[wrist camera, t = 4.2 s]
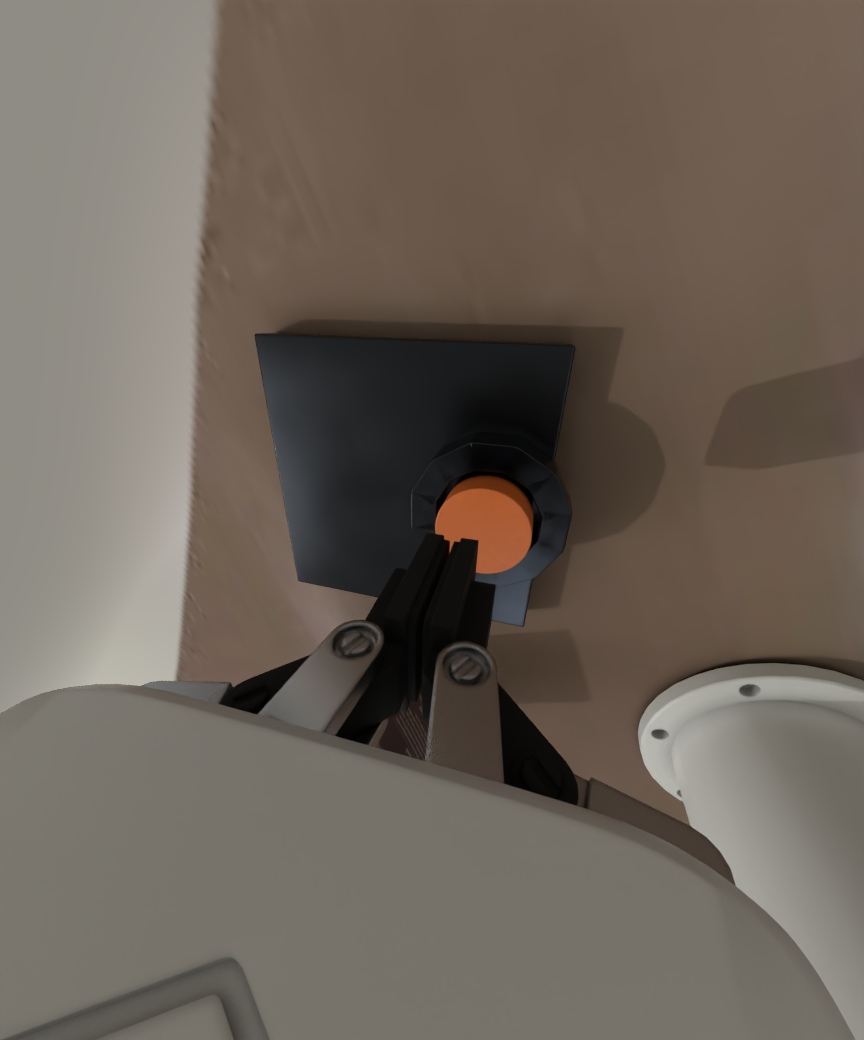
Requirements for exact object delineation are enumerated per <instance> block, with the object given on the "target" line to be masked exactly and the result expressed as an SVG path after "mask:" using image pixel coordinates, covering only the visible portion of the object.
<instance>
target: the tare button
mask: <svg viewBox="0 0 864 1040" xmlns="http://www.w3.org/2000/svg"><path fill="white" fill-rule="evenodd" d="M532 530H533V511H532V507H531V504H530V502H529V500H528V498H527V497H526V495H525V494H524V493H523V491H522V490H521V489H520V488H518V487H517V486H516V485H515V484H513V483H511V482H510V481H508V480H506V479H503V478H500V477H497V476H490V475H481V476H475V477H471V478H468V479H466V480H464V481H462V482H460V483H459V484H457V485H456V486H455V487H454V488H453V489H452V490H451V492H450V493H449V495H448V496H447V498H446V500H445V501H444V503H443V505H442V506H441V508H440V510H439V512H438V514H437V518H436V523H435V532H436V534H439V535H444V540H449V541H450V551H451V548H452V545H453V543H454V541H456V542H460V540H461V538H466V539H473V540H478V541H479V542H478V554H477V565H476V573H483V574H492V573H499V572H503V571H506V570H508V569H510V568H512V567H514V566H515V565H517V564H518V563H519V562H520V561H521V560H522V559H523V558H524V557H525V555H526V554H527V552H528V550H529V548H530V545H531V541H532ZM449 553H450V552H449Z"/></svg>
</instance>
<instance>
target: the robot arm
mask: <svg viewBox="0 0 864 1040" xmlns="http://www.w3.org/2000/svg"><path fill="white" fill-rule="evenodd" d="M478 542H479V541H478V540H473V539H466V538H461V540H460V542H456V541H454V543H453V545H452V548H451V551H450V541H449V540H444V535H439V534H433V533H427V534H426V535H425V537H424V539H423V541H422V543H421V545H420V546H419V548H418V550H417V552H416V554H415V556H414V558H413V560H412V562H411V563H410V565H409V567H408V569H402V568H396V569H395V570H394V571H393V573H392V575H391V577H390V578H389V580H388V582H387V583H386V585H385V587H384V589H383V590H382V592H381V594H380V595H379V597H378V599H377V601H376V602H375V604H374V606H373V608H372V609H371V611H370V613H369V614H368V616H367V618H366V620H353V621H349V622H345V623H343V624H341V625H339V626H338V627H336V628H335V629H334V630H333V631H332V632H331V633H330V634H329V635H328V636H327V637H326V638H325V640H324V641H323V642H322V643H321V644H320V645H319V646H318V647H317V649H316V650H315V651H314V652H313V653H312V654H311V655H309V656H306V657H304V658H301V659H299V660H296V661H293V662H291V663H288V664H286V665H283V666H281V667H278V668H276V669H273V670H270V671H268V672H265V673H263V674H260V675H258V676H255V677H253V678H250V679H248V680H246V681H244V682H242V683H240V684H238V685H237V686H235V687H232V685H231V682H191V681H157V682H150V683H147V684H145V685H142V686H133V685H121V684H110V685H109V684H95V685H87V686H78V687H69V688H63V689H58V690H54V691H50V692H46V693H43V694H40V695H37V696H34V697H32V698H29V699H27V700H25V701H22V702H20V703H19V704H17V705H15V706H13V707H11V708H9V709H8V710H6V711H4V712H2V713H1V714H0V1040H864V681H863V680H860V679H857V678H854V677H851V676H848V675H845V674H842V673H839V672H836V671H832V670H827V669H822V668H817V667H812V666H807V665H795V664H782V663H760V664H742V665H736V666H730V667H723V668H718V669H714V670H711V671H707V672H704V673H700V674H697V675H694V676H692V677H689V678H687V679H685V680H683V681H681V682H678V683H676V684H674V685H673V686H671V687H670V688H668V689H667V690H665V691H664V692H662V693H661V694H660V695H658V696H657V697H656V698H655V699H654V700H653V701H652V703H651V704H650V705H649V706H648V707H647V708H646V710H645V712H644V714H643V716H642V717H641V719H640V724H639V729H638V738H639V746H640V750H641V754H642V757H643V761H644V764H645V766H646V768H647V769H648V771H649V772H650V774H651V776H652V777H653V778H654V779H655V780H656V781H657V782H658V783H659V784H660V785H661V786H662V787H663V788H664V789H665V790H666V791H668V792H669V793H670V794H672V795H673V796H674V797H676V798H677V799H679V800H681V801H683V802H684V805H685V809H686V812H687V816H688V819H689V823H690V826H689V825H687V824H685V823H683V822H681V821H679V820H677V819H675V818H673V817H671V816H669V815H667V814H665V813H663V812H661V811H658V810H656V809H654V808H652V807H650V806H648V805H646V804H644V803H642V802H640V801H638V800H636V799H634V798H632V797H630V796H628V795H626V794H624V793H622V792H620V791H618V790H616V789H614V788H612V787H610V786H608V785H606V784H604V783H602V782H600V781H598V780H596V779H594V778H592V777H591V778H590V781H587V780H585V779H583V778H581V777H579V776H577V775H575V774H573V772H572V770H571V769H570V767H569V766H568V764H567V763H566V761H565V760H564V759H563V758H562V757H561V756H560V754H559V753H558V752H557V751H556V750H555V749H554V747H553V746H552V745H551V744H550V743H549V742H548V740H547V739H546V738H545V737H544V736H543V735H542V733H541V732H540V731H539V730H538V729H537V728H536V726H535V725H534V724H533V723H532V722H531V721H530V719H529V718H528V717H527V716H526V715H525V714H524V712H523V711H522V710H521V709H520V708H519V707H518V705H517V704H516V703H515V702H514V701H513V700H512V699H511V697H510V696H509V695H508V694H507V693H506V692H505V690H504V689H503V688H502V687H501V686H500V685H499V683H498V678H497V666H496V662H495V659H494V658H493V656H492V654H491V653H490V652H489V651H488V650H487V645H488V639H489V633H490V626H491V620H492V613H493V605H494V598H495V590H496V584H490V583H485V582H479V581H475V576H476V565H477V554H478ZM449 552H450V553H449ZM421 688H422V719H423V721H424V722H425V724H426V726H427V727H428V737H427V746H426V755H425V761H422V760H418V759H415V758H411V757H408V756H404V755H401V754H397V753H394V752H390V751H386V750H383V749H379V748H376V746H377V744H378V742H379V740H380V738H381V736H382V735H383V733H384V731H385V729H386V727H387V724H388V718H390V717H391V716H393V715H395V714H397V713H399V711H401V712H405V713H407V710H408V707H409V704H410V701H413V702H417V700H418V698H419V695H420V692H421Z"/></svg>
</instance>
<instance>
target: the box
mask: <svg viewBox="0 0 864 1040" xmlns="http://www.w3.org/2000/svg"><path fill="white" fill-rule="evenodd" d="M427 737H428V727H427V726H426V724H425V722H424V721H423V719H422V688H421V692H420V695H419V698H418V700H417V702H413V701H410V704H409V707H408V710H407V713H405V712H401V711H399V713H397V714H395V715H393V716H391V717H390V718H388V724H387V727H386V729H385V731H384V733H383V735H382V736H381V738H380V740H379V742H378V744H377V746H376V748H379V749H383V750H386V751H390V752H394V753H397V754H401V755H404V756H408V757H411V758H415V759H418V760H422V761H425V755H426V746H427Z"/></svg>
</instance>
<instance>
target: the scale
mask: <svg viewBox="0 0 864 1040" xmlns="http://www.w3.org/2000/svg"><path fill="white" fill-rule="evenodd" d="M255 340H256V346H257V352H258V357H259V363H260V369H261V374H262V380H263V386H264V391H265V397H266V402H267V408H268V414H269V419H270V425H271V431H272V436H273V442H274V447H275V453H276V459H277V464H278V470H279V476H280V481H281V487H282V492H283V498H284V504H285V509H286V515H287V521H288V526H289V532H290V538H291V543H292V549H293V554H294V560H295V566H296V571H297V577H298V581H301V582H306V583H310V584H315V585H320V586H325V587H330V588H335V589H340V590H345V591H350V592H355V593H359V594H364V595H369V596H374V597H379V595H380V594H381V592H382V590H383V589H384V587H385V585H386V583H387V582H388V580H389V578H390V577H391V575H392V573H393V571H394V570H395V569H396V568H402V569H408V567H409V565H410V563H411V562H412V560H413V558H414V556H415V554H416V552H417V550H418V548H419V546H420V545H421V543H422V541H423V539H424V537H425V535H426V534H427V533H433V534H436V532H435V523H436V518H437V514H438V512H439V510H440V508H441V506H442V505H443V503H444V501H445V500H446V498H447V496H448V495H449V493H450V492H451V490H452V489H453V488H454V487H455V486H456V485H457V484H459V483H460V482H462V481H464V480H466V479H468V478H471V477H475V476H481V475H490V476H497V477H500V478H503V479H506V480H508V481H510V482H511V483H513V484H515V485H516V486H517V487H518V488H520V489H521V490H522V491H523V493H524V494H525V495H526V497H527V498H528V500H529V502H530V504H531V507H532V511H533V530H532V541H531V545H530V548H529V550H528V552H527V554H526V555H525V557H524V558H523V559H522V560H521V561H520V562H519V563H518V564H517V565H515V566H514V567H512V568H510V569H508V570H506V571H503V572H499V573H492V574H483V573H476V576H475V581H479V582H485V583H490V584H496V590H495V598H494V605H493V613H492V621H497V622H501V623H506V624H511V625H516V626H521V627H523V626H524V623H525V618H526V612H527V607H528V602H529V596H530V591H531V585H532V580H533V579H534V578H536V577H537V576H538V575H539V574H540V573H541V572H543V571H544V570H545V569H546V568H547V567H548V566H549V565H550V564H551V563H552V562H553V561H554V560H555V559H556V558H557V557H558V556H559V555H560V554H561V553H562V552H563V550H564V548H565V544H566V539H567V535H568V530H569V526H570V521H571V517H572V508H571V500H570V496H569V493H568V491H567V489H566V486H565V484H564V481H563V479H562V477H561V474H560V472H559V469H558V467H557V464H556V462H555V455H556V450H557V444H558V439H559V434H560V428H561V423H562V417H563V412H564V407H565V401H566V396H567V390H568V385H569V379H570V374H571V369H572V363H573V358H574V352H575V346H574V345H572V344H555V343H527V342H500V341H473V340H445V339H418V338H391V337H363V336H336V335H309V334H281V333H261V334H255Z"/></svg>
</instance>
